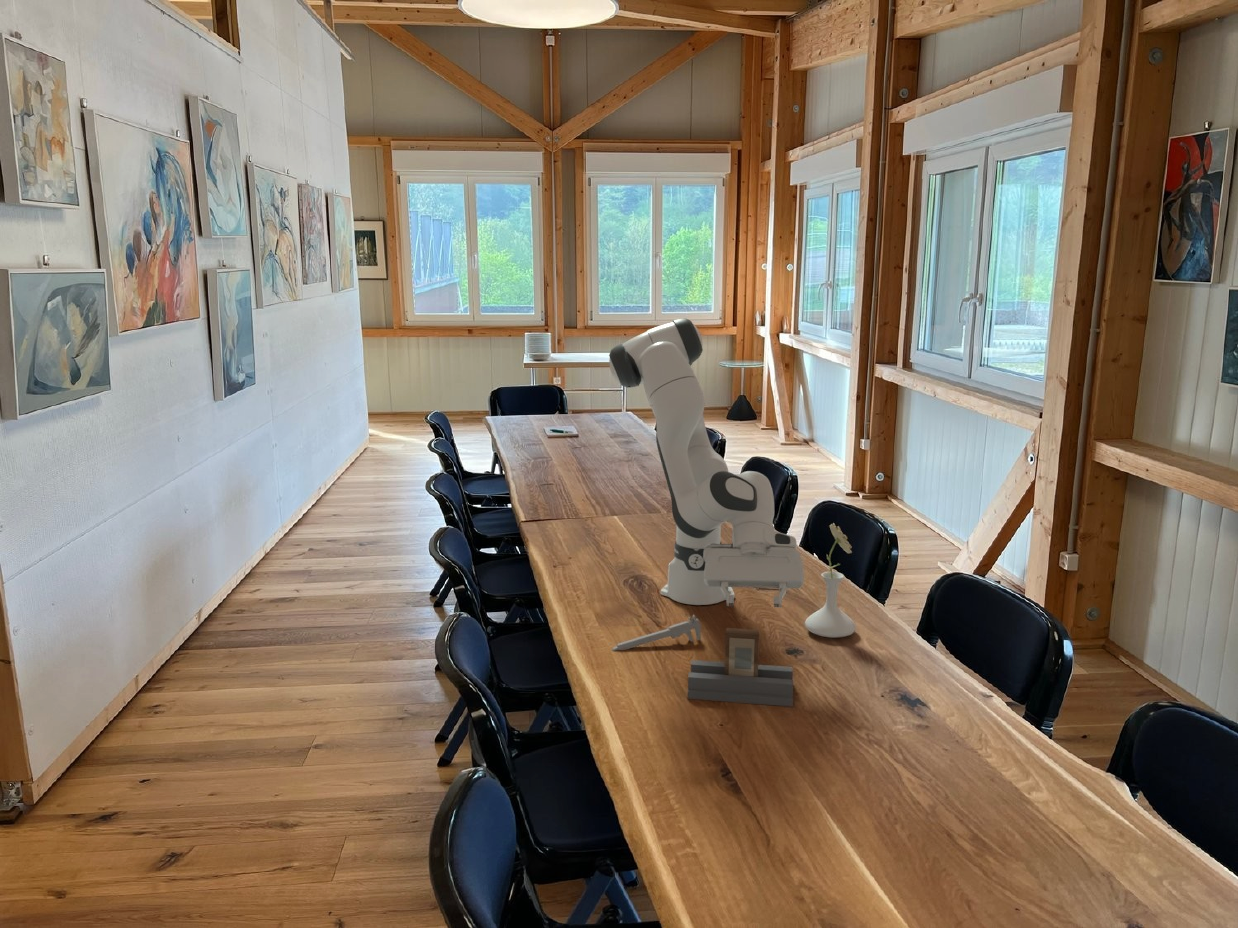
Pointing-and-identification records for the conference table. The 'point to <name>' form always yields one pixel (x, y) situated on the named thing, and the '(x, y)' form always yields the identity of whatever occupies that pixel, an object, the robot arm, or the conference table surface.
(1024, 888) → the conference table surface
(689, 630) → the caliper
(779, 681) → the picture ledge
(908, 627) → the conference table surface
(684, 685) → the conference table surface
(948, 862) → the conference table surface
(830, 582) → the flower in vase
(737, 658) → the wooden picture frame
